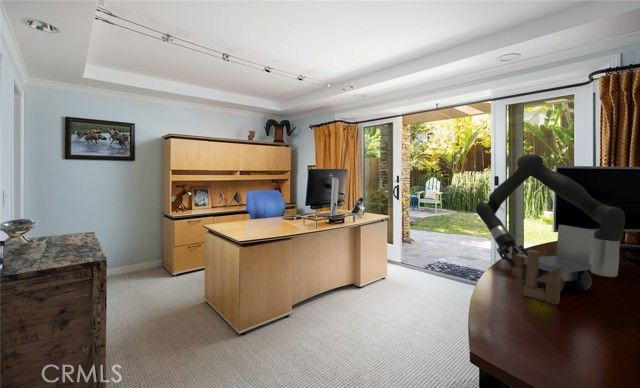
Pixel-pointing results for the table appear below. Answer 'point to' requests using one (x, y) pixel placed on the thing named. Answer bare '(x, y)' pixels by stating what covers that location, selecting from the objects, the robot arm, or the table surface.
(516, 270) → the block
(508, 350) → the table surface
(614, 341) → the table surface
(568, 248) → the trolley
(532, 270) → the tan wooden frame
